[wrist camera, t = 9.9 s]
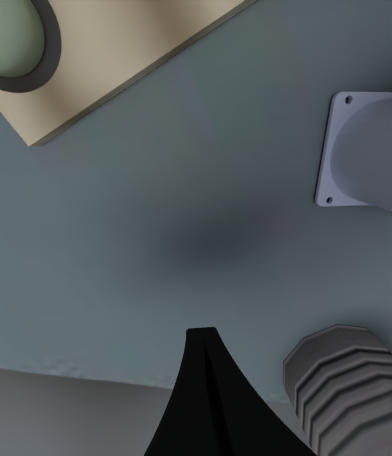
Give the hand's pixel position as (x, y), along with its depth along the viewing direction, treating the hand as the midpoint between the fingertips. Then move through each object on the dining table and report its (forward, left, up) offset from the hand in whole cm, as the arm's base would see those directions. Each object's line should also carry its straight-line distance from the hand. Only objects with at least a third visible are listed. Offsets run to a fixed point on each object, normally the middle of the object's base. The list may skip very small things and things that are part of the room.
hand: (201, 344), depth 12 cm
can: (-15, +14, -10) cm, 23 cm away
